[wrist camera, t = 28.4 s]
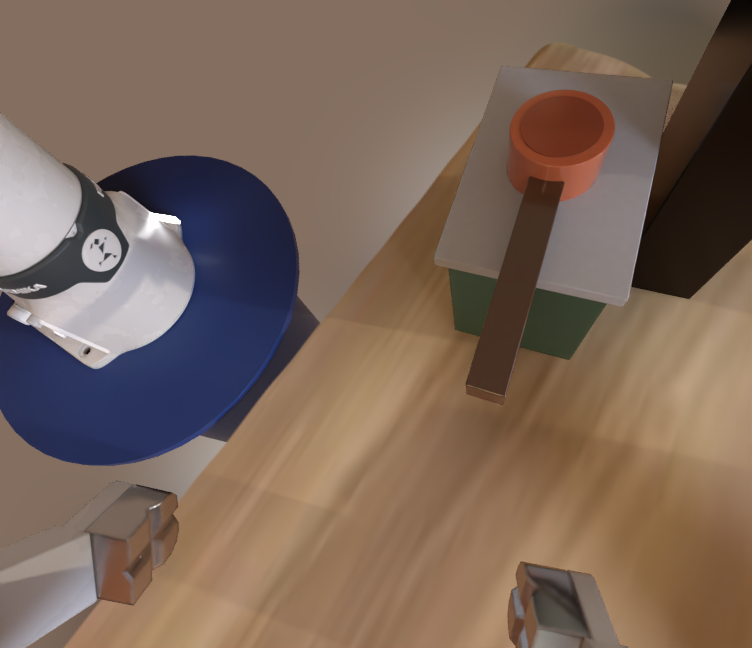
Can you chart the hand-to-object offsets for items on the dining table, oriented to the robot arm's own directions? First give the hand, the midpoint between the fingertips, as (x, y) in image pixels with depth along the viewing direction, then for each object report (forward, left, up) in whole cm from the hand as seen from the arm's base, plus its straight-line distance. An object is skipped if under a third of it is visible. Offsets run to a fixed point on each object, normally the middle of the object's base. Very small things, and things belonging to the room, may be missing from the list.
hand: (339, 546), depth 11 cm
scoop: (+2, +16, -13) cm, 21 cm away
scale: (+2, +23, -29) cm, 37 cm away
